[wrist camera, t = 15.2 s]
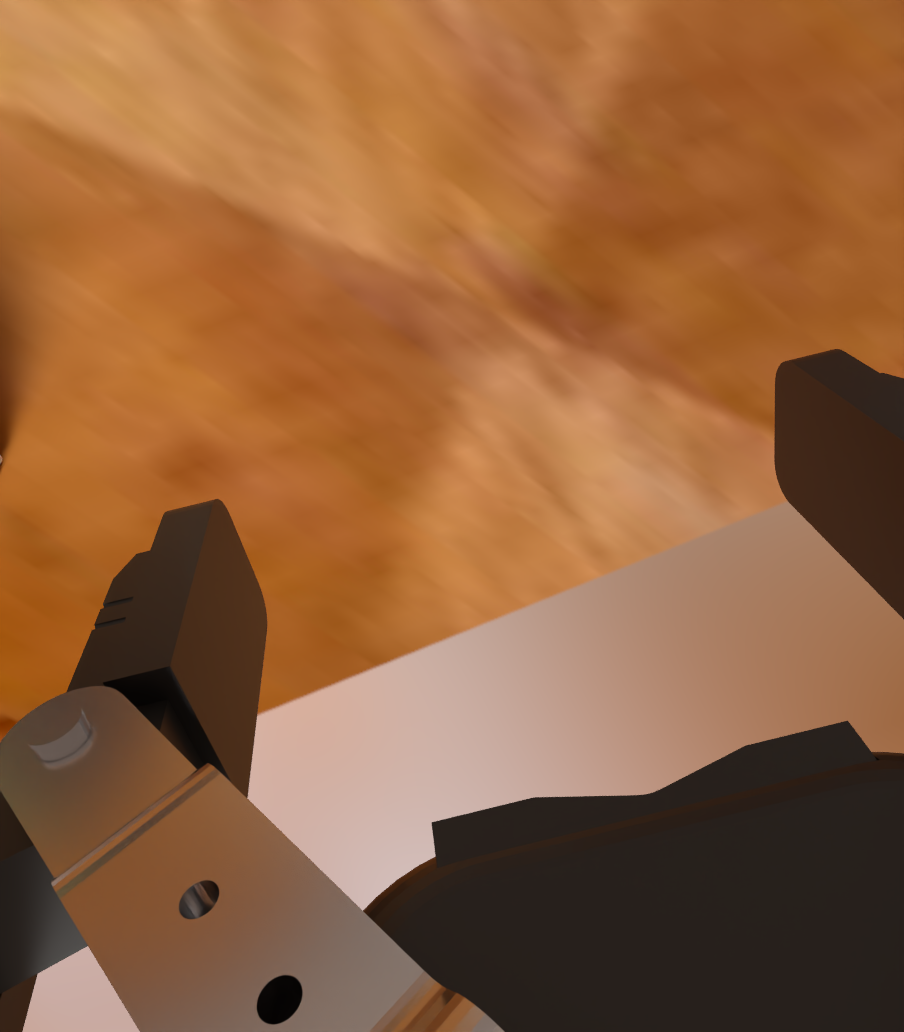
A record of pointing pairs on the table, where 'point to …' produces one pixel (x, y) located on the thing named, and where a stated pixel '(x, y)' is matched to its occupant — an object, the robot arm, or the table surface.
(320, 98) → the table surface
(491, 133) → the table surface
